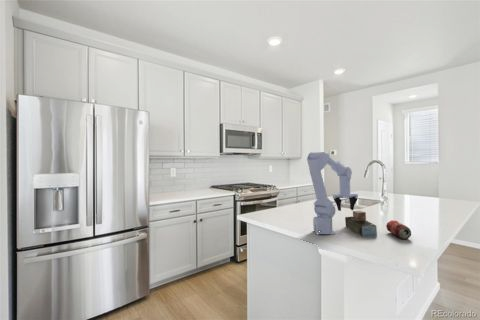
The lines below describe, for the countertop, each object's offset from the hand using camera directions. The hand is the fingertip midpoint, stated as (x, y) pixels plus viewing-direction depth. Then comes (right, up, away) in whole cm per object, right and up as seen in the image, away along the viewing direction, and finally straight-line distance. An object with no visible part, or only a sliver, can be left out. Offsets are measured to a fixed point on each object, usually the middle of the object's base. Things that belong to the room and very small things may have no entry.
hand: (345, 210), depth 138 cm
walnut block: (+3, -3, -11) cm, 12 cm away
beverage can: (+18, -9, -20) cm, 29 cm away
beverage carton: (+3, -10, -10) cm, 15 cm away
